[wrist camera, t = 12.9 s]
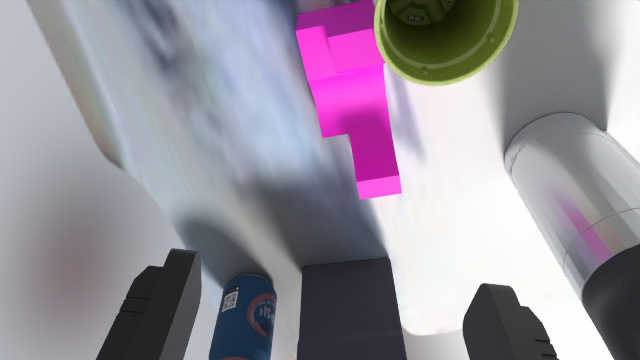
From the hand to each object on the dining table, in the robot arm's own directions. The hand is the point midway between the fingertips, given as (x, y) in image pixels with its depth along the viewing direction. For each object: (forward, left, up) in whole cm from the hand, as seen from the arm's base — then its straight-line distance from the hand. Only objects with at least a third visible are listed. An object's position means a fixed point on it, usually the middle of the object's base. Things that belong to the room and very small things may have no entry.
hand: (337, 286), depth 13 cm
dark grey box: (-6, +32, -30) cm, 44 cm away
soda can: (+6, +37, -30) cm, 48 cm away
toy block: (-3, +7, -30) cm, 31 cm away
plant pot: (-7, -2, -30) cm, 31 cm away
